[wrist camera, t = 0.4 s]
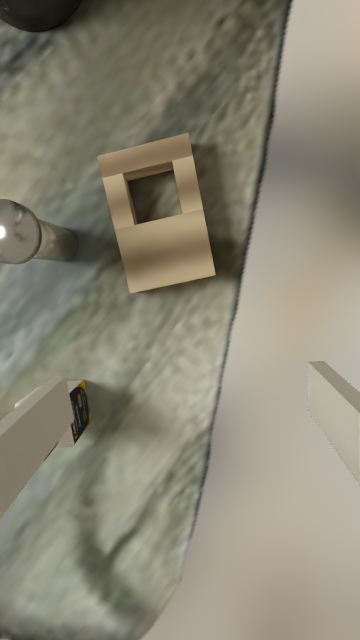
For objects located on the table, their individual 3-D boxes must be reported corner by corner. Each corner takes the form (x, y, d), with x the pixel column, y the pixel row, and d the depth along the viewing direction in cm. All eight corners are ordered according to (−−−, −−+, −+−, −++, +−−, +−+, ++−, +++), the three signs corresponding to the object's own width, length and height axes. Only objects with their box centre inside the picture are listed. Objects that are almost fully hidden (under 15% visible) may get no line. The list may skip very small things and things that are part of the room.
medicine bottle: (92, 420, 45) (56, 472, 33) (50, 424, 45) (-1, 477, 33) (84, 379, 43) (44, 418, 32) (41, 383, 44) (-14, 423, 32)
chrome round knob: (34, 227, 40) (-34, 207, 28) (76, 217, 39) (25, 192, 27) (47, 271, 41) (-14, 269, 29) (87, 261, 40) (43, 256, 28)
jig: (104, 165, 38) (97, 156, 35) (188, 144, 37) (188, 132, 34) (134, 292, 41) (130, 293, 38) (213, 275, 40) (215, 275, 37)
